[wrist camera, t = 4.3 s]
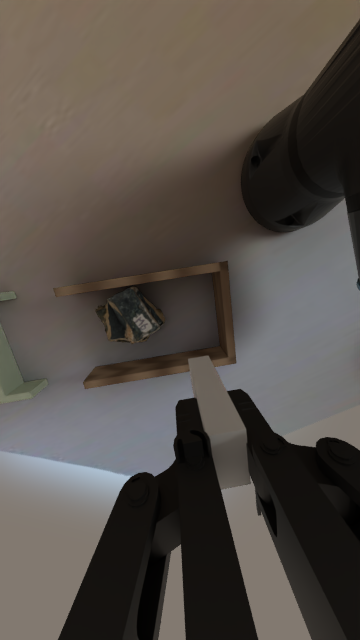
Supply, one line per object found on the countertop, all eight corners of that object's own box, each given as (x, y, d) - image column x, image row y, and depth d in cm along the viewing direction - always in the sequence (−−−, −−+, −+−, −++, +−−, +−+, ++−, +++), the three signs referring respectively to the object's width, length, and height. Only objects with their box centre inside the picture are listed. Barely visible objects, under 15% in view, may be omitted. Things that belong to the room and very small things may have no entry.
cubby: (97, 372, 34) (85, 389, 29) (71, 286, 30) (53, 288, 25) (226, 351, 34) (236, 363, 29) (218, 263, 30) (227, 261, 26)
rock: (95, 307, 30) (80, 312, 25) (144, 280, 30) (140, 278, 25) (123, 350, 32) (114, 364, 26) (170, 325, 32) (171, 333, 26)
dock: (20, 389, 34) (0, 403, 30) (-19, 296, 29) (-47, 299, 26) (48, 384, 34) (32, 398, 30) (13, 291, 30) (-10, 293, 26)
